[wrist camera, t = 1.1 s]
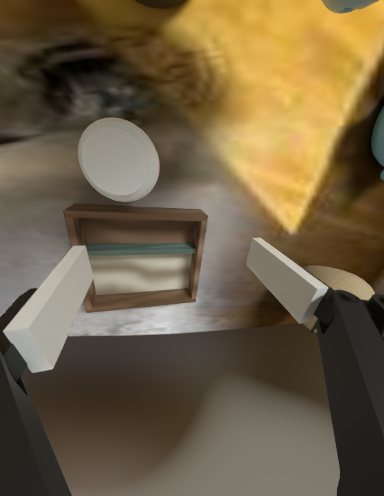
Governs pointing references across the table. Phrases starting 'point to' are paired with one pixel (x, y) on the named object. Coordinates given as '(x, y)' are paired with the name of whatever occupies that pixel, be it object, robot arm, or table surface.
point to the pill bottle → (118, 159)
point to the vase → (339, 284)
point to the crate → (138, 254)
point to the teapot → (378, 140)
